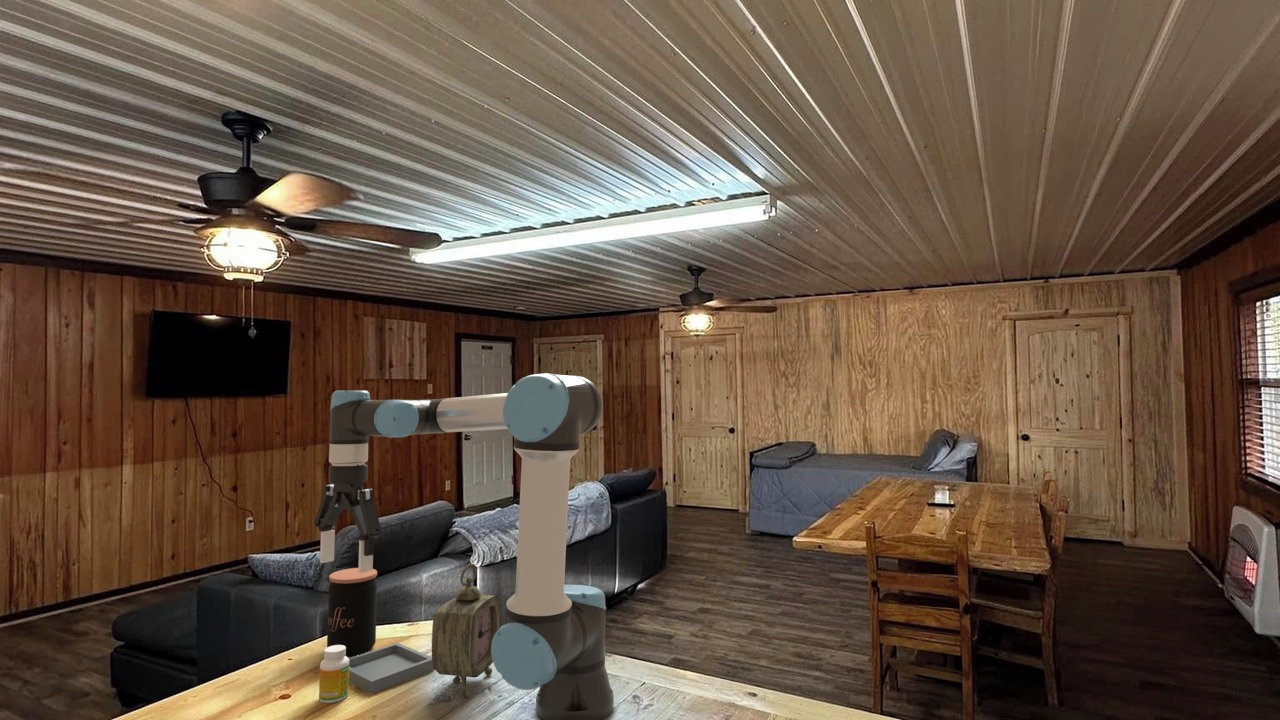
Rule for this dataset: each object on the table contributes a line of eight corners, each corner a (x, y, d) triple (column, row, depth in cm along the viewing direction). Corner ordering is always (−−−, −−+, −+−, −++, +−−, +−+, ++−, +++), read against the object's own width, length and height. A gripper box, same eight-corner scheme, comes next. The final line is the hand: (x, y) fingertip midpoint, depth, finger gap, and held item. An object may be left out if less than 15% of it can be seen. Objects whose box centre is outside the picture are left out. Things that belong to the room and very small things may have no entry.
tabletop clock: (469, 703, 130) (471, 574, 131) (427, 698, 131) (430, 572, 133) (499, 672, 144) (501, 557, 145) (461, 669, 146) (463, 555, 147)
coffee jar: (317, 652, 155) (319, 574, 156) (359, 638, 164) (361, 565, 165) (342, 662, 149) (345, 582, 150) (384, 647, 158) (386, 572, 159)
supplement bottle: (344, 702, 129) (345, 652, 130) (315, 704, 129) (316, 654, 129) (351, 690, 135) (352, 642, 135) (323, 692, 134) (325, 644, 134)
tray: (434, 670, 145) (435, 658, 145) (371, 694, 133) (371, 681, 133) (396, 653, 154) (397, 642, 154) (334, 674, 142) (334, 662, 143)
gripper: (401, 465, 134) (399, 571, 133) (331, 458, 147) (328, 554, 146) (368, 469, 127) (365, 580, 126) (298, 461, 141) (295, 561, 140)
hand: (345, 566), depth 136 cm, fingers open, 13 cm apart
